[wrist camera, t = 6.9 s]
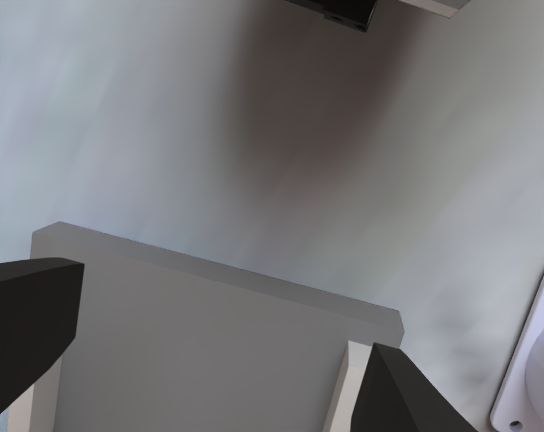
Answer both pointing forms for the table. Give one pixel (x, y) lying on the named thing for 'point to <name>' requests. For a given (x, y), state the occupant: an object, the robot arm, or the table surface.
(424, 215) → the table surface
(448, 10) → the circuit breaker
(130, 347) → the grey shallow rectangular tray
